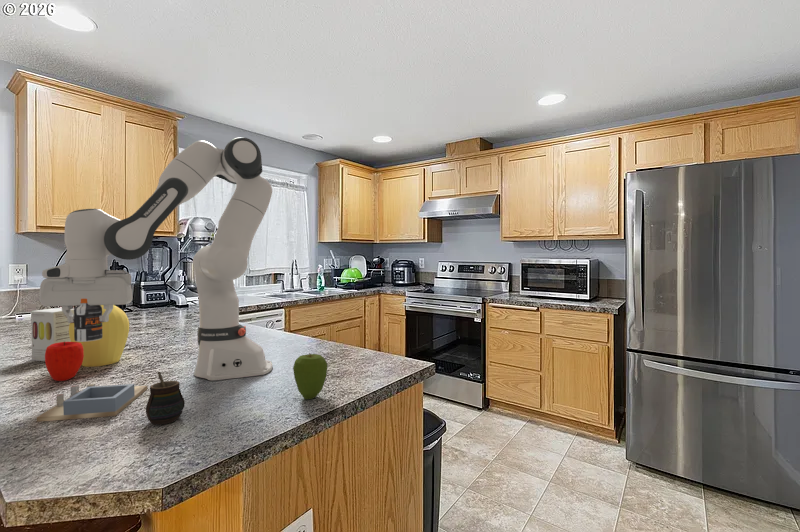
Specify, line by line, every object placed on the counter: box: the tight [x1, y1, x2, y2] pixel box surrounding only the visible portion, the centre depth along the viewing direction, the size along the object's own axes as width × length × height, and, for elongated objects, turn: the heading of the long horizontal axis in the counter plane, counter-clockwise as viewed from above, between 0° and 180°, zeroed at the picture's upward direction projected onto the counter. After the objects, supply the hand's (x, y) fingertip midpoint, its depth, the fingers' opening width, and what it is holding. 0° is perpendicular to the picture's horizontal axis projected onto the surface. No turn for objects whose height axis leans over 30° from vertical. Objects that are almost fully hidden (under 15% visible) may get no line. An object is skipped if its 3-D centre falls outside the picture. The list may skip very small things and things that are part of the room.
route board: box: [36, 385, 148, 423], centre depth 96 cm, size 15×18×1 cm
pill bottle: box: [73, 299, 103, 342], centre depth 106 cm, size 6×6×11 cm
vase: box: [69, 305, 130, 368], centre depth 133 cm, size 16×16×28 cm
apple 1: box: [44, 342, 84, 382], centre depth 115 cm, size 9×9×11 cm
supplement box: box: [30, 307, 74, 362], centre depth 139 cm, size 10×9×17 cm
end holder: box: [63, 383, 135, 415], centre depth 93 cm, size 10×10×3 cm
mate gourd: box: [145, 371, 186, 426], centre depth 87 cm, size 7×8×10 cm
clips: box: [55, 383, 96, 407], centre depth 96 cm, size 5×8×2 cm, turn 13°
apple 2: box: [292, 352, 329, 400], centre depth 101 cm, size 9×8×12 cm
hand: (88, 322), depth 106 cm, fingers closed on pill bottle, 6 cm apart
